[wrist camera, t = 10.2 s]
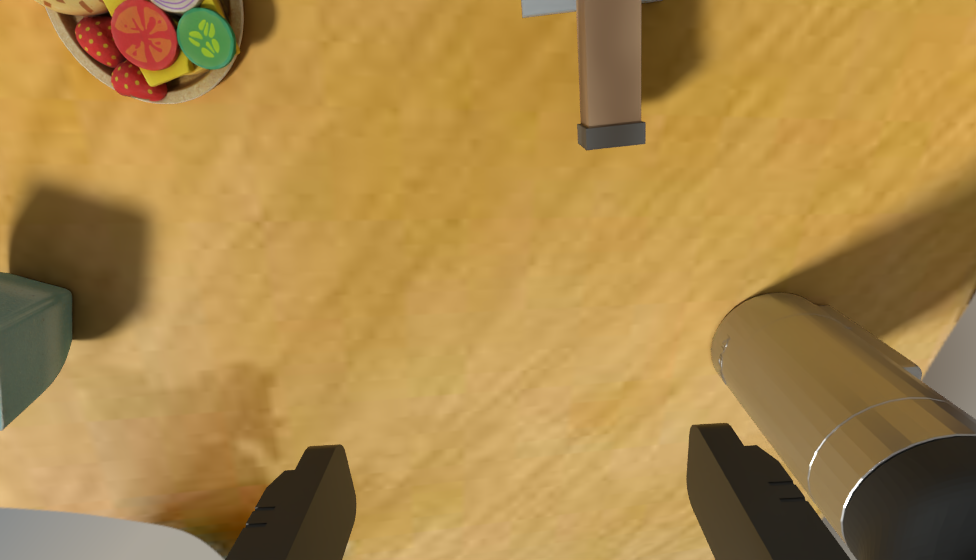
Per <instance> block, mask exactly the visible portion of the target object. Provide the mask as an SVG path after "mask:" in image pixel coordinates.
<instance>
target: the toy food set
mask: <svg viewBox="0 0 976 560" xmlns="http://www.w3.org/2000/svg"><path fill="white" fill-rule="evenodd" d="M35 1H36V2H38V3H39V4H41V5H43V6H45V8H46V10H47V13H48V16H49V18H50V20H51V22H52V24H53V26H54V28H55V30H56V32H57V34H58V35H59V37H60V39H61V40H62V42H63V43H64V44H65V46H66V47H67V49H68V50H69V51H70V52H71V53H72V55H73V56H74V57H75V58H76V60H77V61H78V62H79V63H80V64H81V65H82V66H83V67H84V68H85V69H86V70H88V71H89V72H90V73H91V74H92V75H94V76H95V77H96V78H97V79H99V80H100V81H101V82H103V83H104V84H106V85H107V86H109V87H111V88H112V89H114V90H116V91H117V92H118V93H119V94H121V95H123V96H128V97H132V98H135V99H138V100H141V101H144V102H150V103H156V104H176V103H182V102H186V101H189V100H192V99H195V98H198V97H200V96H202V95H203V94H205V93H207V92H208V91H210V90H211V89H213V88H214V87H215V86H216V85H217V84H218V83H219V82H220V81H221V80H222V79H223V78H224V77H225V76H226V74H227V73H228V71H229V70H230V68H231V67H232V65H233V63H234V61H235V59H236V57H237V55H238V54H240V49H239V48H240V45H241V40H242V35H243V26H244V10H243V0H35Z"/></svg>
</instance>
